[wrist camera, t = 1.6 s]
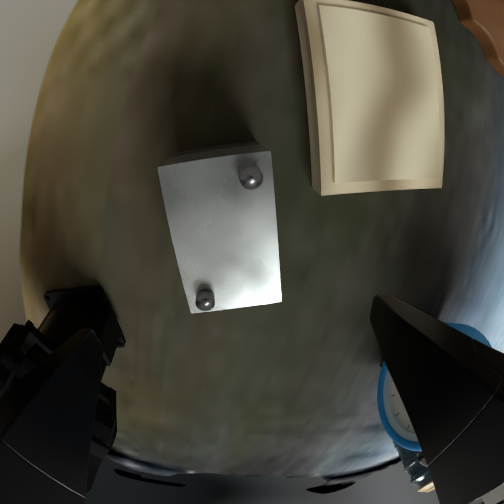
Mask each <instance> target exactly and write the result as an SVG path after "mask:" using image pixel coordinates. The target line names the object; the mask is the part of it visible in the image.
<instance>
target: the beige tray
mask: <svg viewBox="0 0 504 504" xmlns="http://www.w3.org/2000/svg"><path fill="white" fill-rule="evenodd" d="M295 11H296V17H297V24H298V31H299V38H300V46H301V54H302V62H303V71H304V80H305V90H306V100H307V112H308V124H309V138H310V155H311V174H312V188H313V189H314V190H315V191H317V192H318V193H319V194H320V195H321V196H323V195H334V194H345V193H358V192H372V191H387V190H404V189H425V188H442V179H443V164H444V101H443V86H442V75H441V66H440V58H439V51H438V45H437V39H436V33H435V28H434V23H433V22H432V21H429V20H426V19H423V18H420V17H417V16H413V15H410V14H407V13H403V12H400V11H396V10H392V9H388V8H384V7H380V6H375V5H370V4H365V3H360V2H354V1H348V0H299V1H298V2H297V4H296V5H295Z"/></svg>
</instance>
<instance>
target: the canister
mask: <svg viewBox="0 0 504 504" xmlns="http://www.w3.org/2000/svg"><path fill="white" fill-rule="evenodd" d="M393 444H394V447H395V448H396V449H397V451H398V454H399V456H400V459H401V461H402V463H403V466H404V471H405V472H408V474H409V476H410V478H411V481H410V485H417V486H418V487H419V489H418V490H417V491H418V492H430V491H431V490H434V489H435V487H434V484H433V481H432V478H431V475H430V472H429V469H428V467H425V466H423V465H422V464H420V462H419V461H418V459H417V452H419V451H412V450H408V449H405V448H403V447H401V446H400V445H398V444H397V443H396V442H395V441H393Z"/></svg>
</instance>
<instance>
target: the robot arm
mask: <svg viewBox="0 0 504 504" xmlns="http://www.w3.org/2000/svg"><path fill="white" fill-rule="evenodd" d="M96 291H97V292H99V293H97V292H96ZM44 299H45V301H46V303H47V305H48V307H49V309H50V311H49V312H48V314H47V315H46V317H45V318H44V320H43V321H42V323H41V325H40V326H39V328H38V329H37V328H36V327H34V326H33V325H34V324H33V323H32V322H31V321H30V320H28V321H27V322H26V324H25V325H24V326H23V325H22V324H21V325H19V324H15V323H14V324H13V326H12V327H11V328H10V330H9V331H8V333H7V334H6V336H5V337H4V339H3V340H2V342H1V343H0V504H86V493H88V492H89V491H90V490H91V488H92V485H93V482H94V479H95V475H96V473H97V470H98V468H99V466H100V464H101V462H102V460H103V459H104V457H105V456H106V455H107V454H108V452H109V451H110V449H111V447H112V445H113V443H114V440H115V437H116V433H117V418H116V391H115V390H114V389H112V388H111V387H110V388H109V387H107V386H106V385H105V384H103V383H102V382H101V380H102V377H103V374H104V371H105V368H106V366H110V364H111V362H112V359H113V356H114V353H115V351H116V348H117V347H124V346H125V343H126V341H125V338H124V336H123V334H122V330H121V328H120V326H119V324H118V322H117V319H116V317H115V315H114V313H113V310H112V309H111V308H110V306H109V303H108V301H107V299H106V296H105V294H104V291H103V289H102V288H101V287H100V286H88V287H79V288H70V289H61V290H51V291H46V293H45V294H44ZM370 321H371V325H372V327H373V330H374V333H375V336H376V339H377V342H378V345H379V348H380V350H381V353H382V356H383V359H384V362H385V364H386V366H387V369H388V371H389V373H390V375H391V377H392V380H393V382H394V384H395V386H396V389H397V391H398V393H399V395H400V398H401V400H402V402H403V405H404V407H405V409H406V412H407V414H408V417H409V419H410V422H411V424H412V426H413V429H414V431H415V434H416V437H417V439H418V442H419V444H420V447H421V450H422V452H423V455H424V458H425V460H426V463H427V465H428V469H429V472H430V475H431V478H432V481H433V484H434V487H435V490H436V493H437V496H438V499H439V503H440V504H469V503H471V502H473V501H475V500H477V499H479V498H480V497H482V499H483V502H481V503H480V504H504V353H502V352H499V351H497V350H495V349H493V348H491V347H489V346H487V345H485V344H483V343H481V342H479V341H478V340H476V339H474V338H473V339H472V337H470V336H468V335H466V334H464V333H463V332H461V331H459V330H457V329H455V328H453V327H451V326H449V325H447V324H445V323H444V322H442V321H440V320H438V319H436V318H434V317H432V316H430V315H428V314H426V313H424V312H422V311H420V310H418V309H416V308H414V307H413V306H411V305H409V304H407V303H405V302H403V301H401V300H399V299H397V298H395V297H393V296H391V295H389V294H386V293H384V294H379V295H376V296H375V297H374V298H373V303H372V308H371V314H370Z"/></svg>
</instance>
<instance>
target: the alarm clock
mask: <svg viewBox="0 0 504 504" xmlns="http://www.w3.org/2000/svg"><path fill="white" fill-rule="evenodd" d="M444 323H445V322H444ZM445 324H447V325H449V326H451V327H453V328H455V329H457V330H459V331H461V332H463V333H464V334H466V335H468V336H470V337H472V339H473V338H474V339H476V340H478V341H479V342H481V343H483V344H485V345H487V346H489V347H491V345H490V343H489V341H488V340H487V339H486V337H485V336H484V335H483V334H482V333H480V332H479V331H478V330H476V329H475V328H473V327H471V326H468V325H465V324H456V323H445ZM491 348H492V347H491ZM380 367H382V369H381V372H380V376H379V382H378V392H377V400H378V409H379V414H380V418H381V421H382V424H383V426H384V428H385V430H386V432H387V433H388V435H389V436H390V437H391V438H392V440H393V441H395V442H396V443H397V444H398V445H400V446H401V447H403V448H405V449H408V450H412V451H419V452H417V459H418V461H419V462H420V464H422V465H423V466H425V467H428V465H427V463H426V460H425V458H424V455H423V452H422V450H421V447H420V444H419V442H418V439H417V437H416V434H415V431H414V429H413V426H412V424H411V422H410V419H409V417H408V414H407V412H406V409H405V407H404V405H403V402H402V400H401V398H400V395H399V393H398V391H397V389H396V386H395V384H394V382H393V380H392V377H391V375H390V373H389V371H388V369H387V366H386V364H385V362H384V363H383V364H381V365H380Z"/></svg>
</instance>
